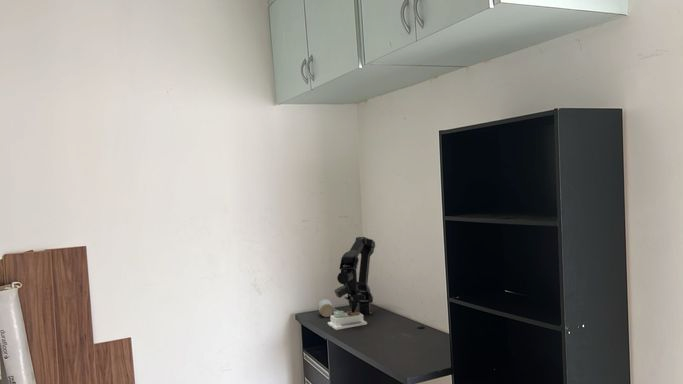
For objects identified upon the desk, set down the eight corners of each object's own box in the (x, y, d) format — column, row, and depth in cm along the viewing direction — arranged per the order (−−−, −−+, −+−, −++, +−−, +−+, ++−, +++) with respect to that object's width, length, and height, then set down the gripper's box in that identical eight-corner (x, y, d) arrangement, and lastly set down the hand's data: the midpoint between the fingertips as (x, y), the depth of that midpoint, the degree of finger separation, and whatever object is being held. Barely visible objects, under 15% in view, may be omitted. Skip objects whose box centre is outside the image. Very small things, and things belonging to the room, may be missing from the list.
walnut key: (347, 317, 268) (347, 311, 267) (355, 316, 269) (355, 310, 269) (351, 319, 263) (350, 313, 263) (359, 318, 265) (359, 312, 265)
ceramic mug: (320, 318, 278) (319, 303, 277) (318, 314, 286) (317, 299, 285) (340, 316, 279) (340, 301, 279) (338, 312, 287) (337, 298, 287)
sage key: (334, 318, 265) (333, 311, 265) (342, 316, 267) (342, 310, 266) (337, 320, 261) (337, 313, 261) (345, 318, 262) (345, 312, 262)
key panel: (327, 324, 266) (327, 316, 266) (358, 319, 272) (357, 311, 271) (335, 329, 256) (335, 321, 255) (367, 324, 261) (366, 316, 261)
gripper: (328, 279, 271) (331, 310, 272) (342, 285, 254) (344, 318, 255) (349, 276, 276) (351, 306, 276) (364, 282, 258) (366, 315, 259)
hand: (353, 311), depth 266 cm, fingers closed, pressing on walnut key
